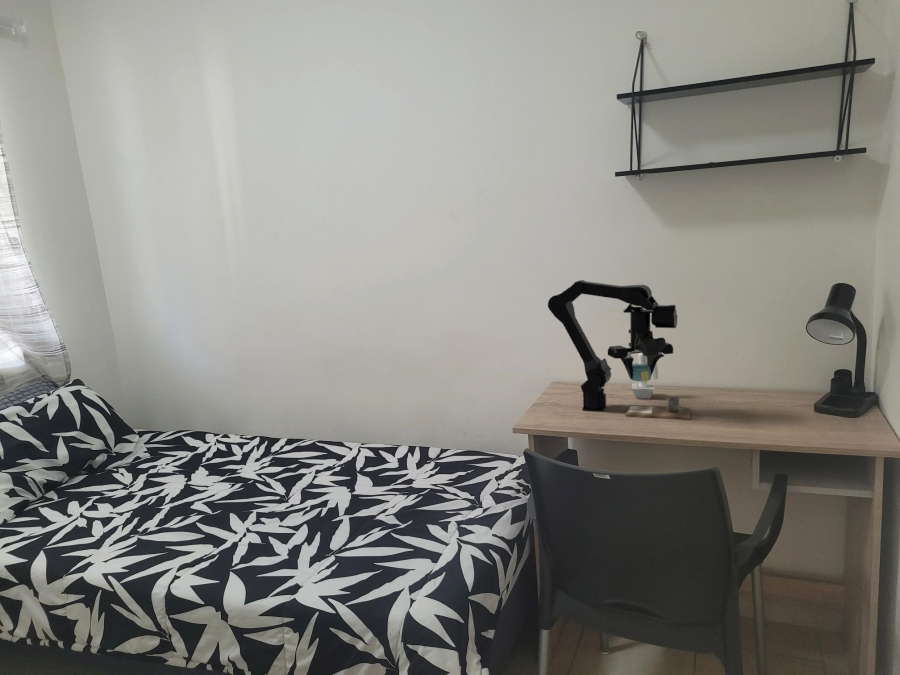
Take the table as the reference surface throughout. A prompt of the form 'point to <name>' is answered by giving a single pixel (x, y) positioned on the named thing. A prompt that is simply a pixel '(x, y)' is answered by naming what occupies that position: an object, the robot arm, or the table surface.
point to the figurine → (642, 387)
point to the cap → (641, 372)
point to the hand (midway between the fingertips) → (640, 377)
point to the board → (660, 411)
